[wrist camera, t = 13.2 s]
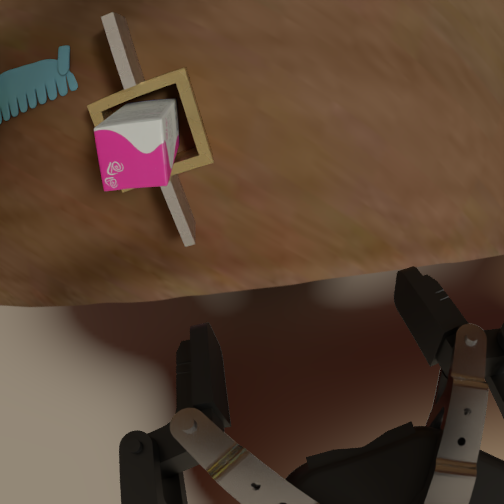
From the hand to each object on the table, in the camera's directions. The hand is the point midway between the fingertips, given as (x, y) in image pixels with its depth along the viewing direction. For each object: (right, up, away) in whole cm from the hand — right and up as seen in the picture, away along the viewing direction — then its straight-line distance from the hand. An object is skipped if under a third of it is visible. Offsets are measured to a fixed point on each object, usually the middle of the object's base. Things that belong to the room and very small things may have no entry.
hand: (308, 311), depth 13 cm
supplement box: (-13, +16, +19) cm, 29 cm away
